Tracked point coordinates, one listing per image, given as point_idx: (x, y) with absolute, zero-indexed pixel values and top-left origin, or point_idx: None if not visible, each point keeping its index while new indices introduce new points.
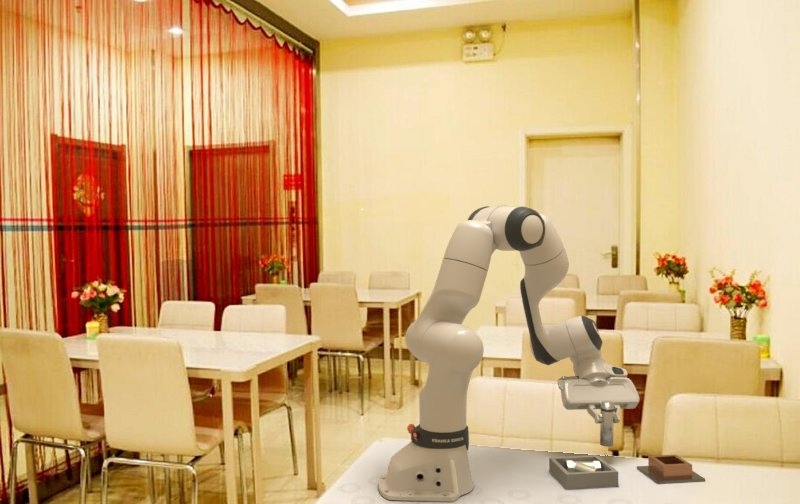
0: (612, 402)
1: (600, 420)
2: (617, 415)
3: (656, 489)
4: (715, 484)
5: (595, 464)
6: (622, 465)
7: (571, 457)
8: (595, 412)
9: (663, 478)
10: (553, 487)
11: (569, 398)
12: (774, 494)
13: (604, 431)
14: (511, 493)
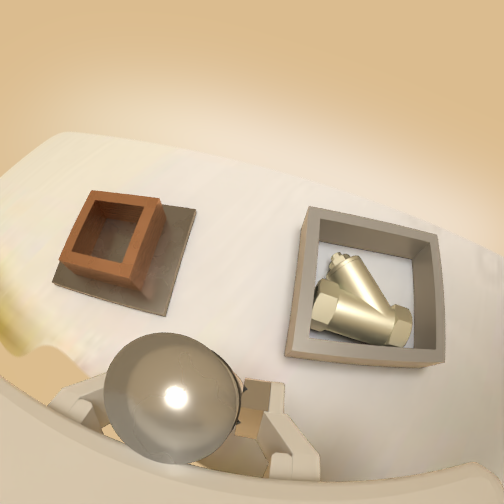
0: (122, 368)
1: (263, 380)
2: None
3: (222, 191)
4: (92, 183)
5: (335, 289)
6: None
7: (388, 350)
8: (282, 424)
9: (166, 219)
10: None
11: (491, 485)
12: (66, 139)
13: (237, 376)
14: (498, 269)
